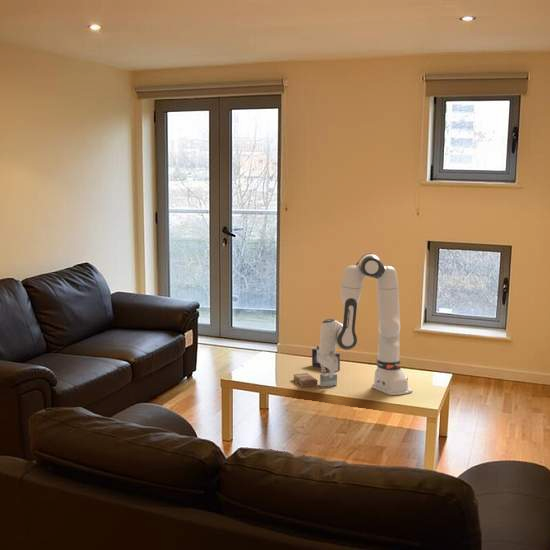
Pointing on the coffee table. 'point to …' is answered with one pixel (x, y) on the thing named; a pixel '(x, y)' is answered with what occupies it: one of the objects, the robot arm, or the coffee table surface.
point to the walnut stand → (305, 380)
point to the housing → (328, 379)
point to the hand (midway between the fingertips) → (327, 374)
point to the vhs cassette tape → (316, 363)
